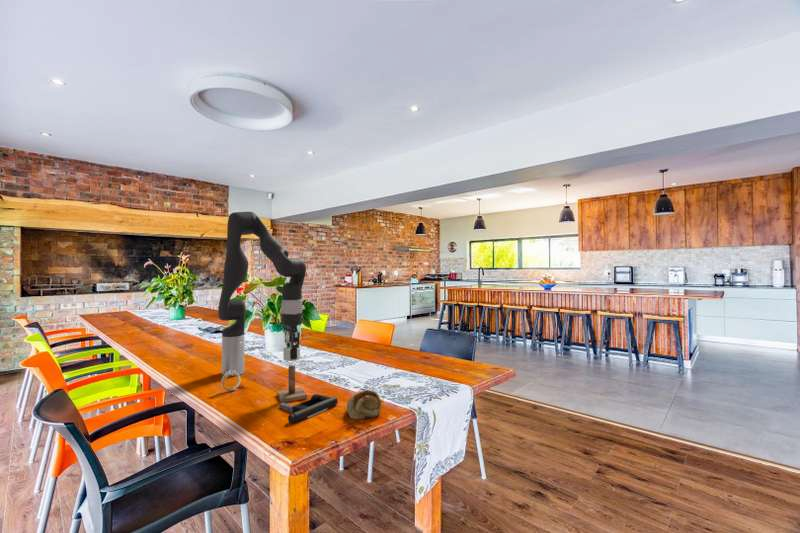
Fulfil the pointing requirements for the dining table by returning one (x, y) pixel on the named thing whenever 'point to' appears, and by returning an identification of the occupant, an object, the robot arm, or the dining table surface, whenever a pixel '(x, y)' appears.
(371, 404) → the pastry
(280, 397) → the ring stand
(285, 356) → the napkin ring
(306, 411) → the door handle
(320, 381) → the dining table surface
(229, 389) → the bracelet
